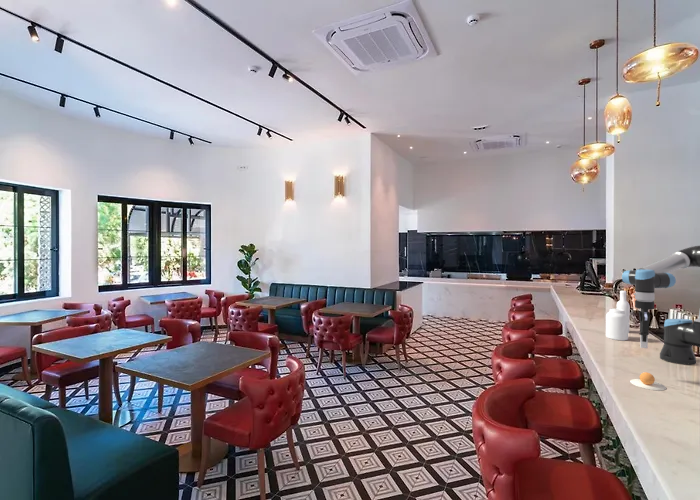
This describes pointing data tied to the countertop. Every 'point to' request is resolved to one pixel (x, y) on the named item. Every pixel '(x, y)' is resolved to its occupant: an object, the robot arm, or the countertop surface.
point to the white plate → (651, 387)
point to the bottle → (624, 305)
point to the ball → (647, 378)
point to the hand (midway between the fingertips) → (643, 347)
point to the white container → (617, 324)
